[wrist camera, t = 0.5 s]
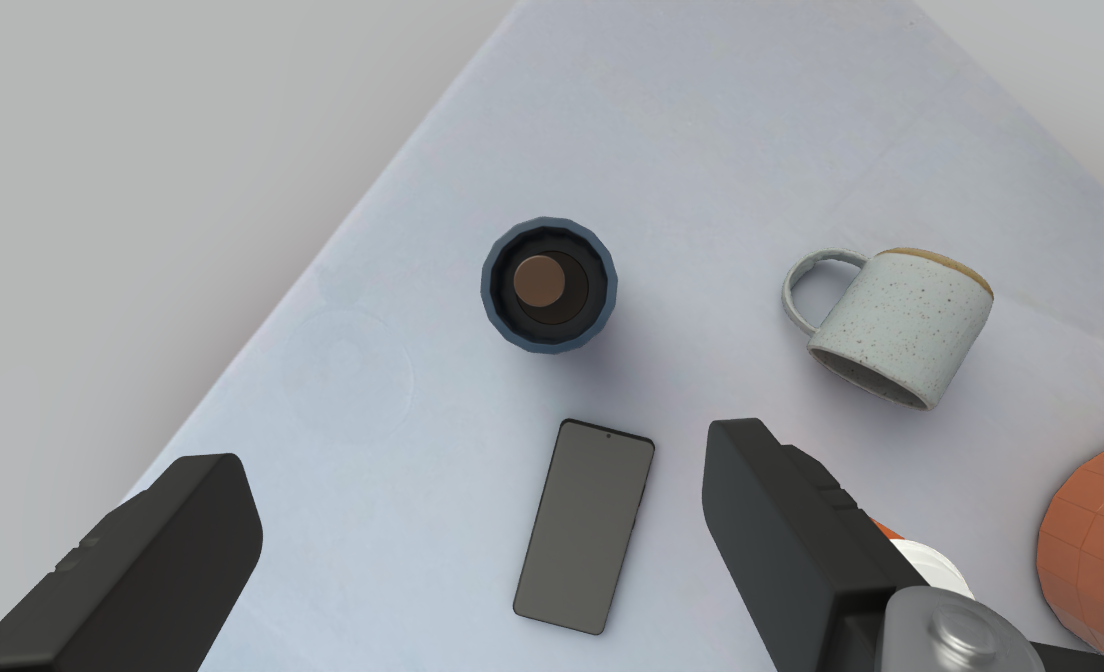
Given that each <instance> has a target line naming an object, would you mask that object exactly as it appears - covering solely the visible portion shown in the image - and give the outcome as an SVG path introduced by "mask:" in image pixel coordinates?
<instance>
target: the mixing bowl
mask: <svg viewBox="0 0 1104 672" xmlns="http://www.w3.org/2000/svg"><path fill="white" fill-rule="evenodd" d="M1036 567H1037V571H1038V575H1039V578H1040V582H1041V586H1042V590H1043V594H1044V597H1045V599H1046V601H1047V602H1048V604H1049V605H1050V607H1051V608H1052V610H1053V611H1054V613H1055V614H1056V616H1057V617H1058V619H1059V620H1060V622H1061V623H1062V625H1063V626H1064V627H1065V628H1067V629H1068V630H1069V631H1071V632H1072V633H1073V634H1075V635H1076V636H1077V637H1079V638H1080V639H1081V640H1083V641H1084V642H1085V643H1087V644H1088V645H1089V646H1091V647H1092V648H1094V649H1095V650H1097V651H1098V652H1100V653H1101V654H1102V655H1104V451H1103V452H1102V453H1100V454H1099V455H1097V456H1096V457H1094V458H1092V459H1091V460H1089V461H1088V462H1086V463H1084V464H1083V465H1081V466H1080V467H1079V468H1077V470H1076V471H1075V472H1074V473H1073V474H1072V475H1071V476H1070V478H1069V479H1068V480H1067V481H1066V482H1065V483H1064V485H1063V486H1062V487H1061V488H1060V489H1059V490H1058V491H1057V493H1056V494H1055V495H1054V497H1053V499H1052V501H1051V503H1050V506H1049V508H1048V510H1047V513H1046V515H1045V517H1044V519H1043V522H1042V524H1041V526H1040V530H1039V539H1038V550H1037V561H1036Z"/></svg>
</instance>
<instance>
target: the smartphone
mask: <svg viewBox="0 0 1104 672" xmlns="http://www.w3.org/2000/svg"><path fill="white" fill-rule="evenodd" d="M654 451H655V445H654V443H653V441H652V440H650V439H648V438H644V437H641V436H637V435H633V434H629V433H625V432H621V431H618V430H614V429H610V428H606V427H602V426H598V425H594V424H590V423H586V422H582V421H578V420H574V419H569V418H568V419H565V420H563V421H562V423H561V425H560V428H559V432H558V436H557V440H556V443H555V447H554V451H553V455H552V458H551V462H550V466H549V470H548V474H547V477H546V481H545V485H544V489H543V492H542V496H541V500H540V504H539V508H538V511H537V515H536V519H535V523H534V526H533V530H532V534H531V538H530V542H529V545H528V549H527V553H526V557H525V561H524V564H523V568H522V572H521V576H520V579H519V583H518V587H517V591H516V595H515V598H514V602H513V610H514V612H515V613H516V614H517V615H519V616H523V617H527V618H531V619H534V620H538V621H542V622H546V623H550V624H554V625H557V626H561V627H565V628H569V629H573V630H577V631H580V632H584V633H588V634H592V635H599V634H601V633H602V632H603V630H604V627H605V623H606V620H607V616H608V613H609V609H610V606H611V602H612V599H613V595H614V592H615V588H616V585H617V581H618V578H619V574H620V570H621V567H622V563H623V560H624V556H625V553H626V549H627V546H628V542H629V539H630V535H631V532H632V530H633V527H634V524H635V520H636V519H635V518H636V514H637V511H638V507H639V506H640V502H641V499H642V495H643V492H644V488H645V483H646V479H647V475H648V472H649V468H650V465H651V461H652V458H653V454H654Z"/></svg>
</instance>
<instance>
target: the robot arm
mask: <svg viewBox="0 0 1104 672" xmlns="http://www.w3.org/2000/svg"><path fill="white" fill-rule="evenodd" d="M702 504H703V511H704V516H705V520H706V523H707V526H708V528H709V531H710V533H711V535H712V537H713V539H714V541H715V543H716V545H717V547H718V549H719V551H720V553H721V556H722V558H723V560H724V562H725V564H726V566H727V568H728V570H729V572H730V574H731V576H732V578H733V580H734V582H735V585H736V587H737V589H738V591H739V593H740V595H741V597H742V599H743V601H744V603H745V605H746V607H747V609H748V611H749V613H750V616H751V618H752V620H753V622H754V624H755V626H756V628H757V630H758V632H759V634H760V636H761V638H762V640H763V642H764V644H765V647H766V649H767V651H768V653H769V655H770V657H771V659H772V661H773V663H774V665H775V667H776V669H777V671H778V672H1104V655H1099V654H1093V653H1088V652H1083V651H1078V650H1072V649H1067V648H1062V647H1057V646H1051V645H1046V644H1041V643H1036V642H1031V641H1028V640H1027V639H1026V638H1025V637H1024V636H1023V634H1022V633H1021V632H1020V631H1019V630H1018V629H1016V628H1015V627H1014V626H1013V625H1012V624H1011V623H1010V622H1008V621H1007V620H1006V619H1004V618H1003V617H1002V616H1000V615H999V614H998V613H996V612H995V611H993V610H991V609H990V608H988V607H986V606H985V605H983V604H981V603H979V602H977V601H975V600H973V599H971V598H969V597H967V596H964V595H962V594H959V593H956V592H953V591H950V590H947V589H942V588H937V587H931V586H930V584H929V583H928V582H927V581H926V580H925V579H924V578H923V577H922V575H921V574H920V573H919V572H918V571H917V570H916V569H915V568H914V567H913V565H912V564H911V563H910V562H909V561H908V560H907V559H906V558H905V556H904V555H903V554H902V553H901V552H900V551H899V550H898V549H897V548H896V546H895V545H894V544H893V543H892V542H891V541H890V540H889V539H888V537H887V536H886V535H885V534H884V533H883V532H882V531H881V530H880V529H879V527H878V526H877V525H876V524H875V523H874V522H873V521H872V520H871V518H870V517H869V516H868V515H867V514H866V513H865V512H864V511H863V510H862V509H858V507H857V503H856V502H855V501H854V499H853V498H852V497H851V496H850V495H849V494H848V493H847V492H846V491H845V489H841V488H840V484H839V483H838V482H837V480H836V479H835V478H834V477H833V476H832V475H831V474H830V473H829V472H828V470H827V469H826V468H825V467H824V466H823V465H822V464H821V463H820V462H819V461H817V460H816V459H814V458H813V457H811V456H809V455H808V454H806V453H805V452H803V451H801V450H800V449H798V448H797V447H795V446H793V445H781V444H780V443H779V442H778V441H777V439H776V438H775V437H774V436H773V435H772V433H771V432H770V431H769V430H768V429H767V427H766V426H765V425H764V424H763V422H762V421H761V420H759V419H758V418H745V419H730V420H716V421H713V422H712V423H711V424H710V426H709V430H708V438H707V448H706V458H705V467H704V477H703V487H702ZM262 543H263V530H262V524H261V521H260V518H259V515H258V512H257V508H256V505H255V502H254V499H253V496H252V493H251V490H250V486H249V483H248V480H247V477H246V474H245V471H244V468H243V465H242V462H241V460H240V459H239V458H238V456H236V455H235V454H233V453H224V454H210V455H195V456H183V457H180V458H178V459H176V460H175V461H174V462H173V463H172V464H171V465H170V466H169V467H168V468H167V469H166V470H165V471H164V473H163V474H162V475H161V476H160V477H159V478H158V479H157V480H156V481H155V482H154V483H153V484H152V485H151V486H150V487H149V488H148V489H147V490H143V491H142V492H140V493H139V494H137V495H136V496H134V497H133V498H131V499H130V500H128V501H127V502H125V503H124V504H122V505H121V506H119V507H117V508H116V509H114V510H113V511H111V512H110V513H108V514H107V515H106V516H105V517H104V518H103V519H102V520H101V521H100V522H99V523H98V524H97V525H96V526H95V527H94V528H93V529H92V530H91V531H90V532H89V533H88V534H87V535H86V536H85V537H84V538H83V539H82V540H81V541H80V542H79V547H78V548H73V549H72V550H71V551H70V552H69V553H68V554H67V555H66V556H65V557H64V558H63V559H62V560H61V561H60V562H59V563H58V564H57V565H56V566H55V567H56V570H55V572H50V573H48V574H47V575H46V576H45V577H44V578H43V579H42V580H41V581H40V582H39V583H38V584H37V585H36V586H35V587H34V588H33V589H32V590H31V591H30V592H29V593H28V594H27V595H26V596H25V597H24V598H23V599H22V600H21V601H20V602H19V603H18V604H17V605H16V606H15V607H14V608H13V609H12V610H11V611H10V612H9V613H8V614H7V615H6V616H5V617H4V618H3V619H2V620H1V621H0V672H197V671H198V670H199V668H200V666H201V664H202V662H203V661H204V659H205V657H206V655H207V653H208V652H209V650H210V648H211V646H212V644H213V642H214V641H215V639H216V637H217V635H218V633H219V632H220V630H221V628H222V626H223V624H224V623H225V621H226V619H227V617H228V615H229V614H230V612H231V610H232V608H233V606H234V605H235V603H236V601H237V599H238V597H239V596H240V594H241V592H242V590H243V588H244V587H245V585H246V583H247V581H248V579H249V578H250V576H251V574H252V572H253V570H254V569H255V567H256V565H257V563H258V560H259V557H260V554H261V550H262Z"/></svg>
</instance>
